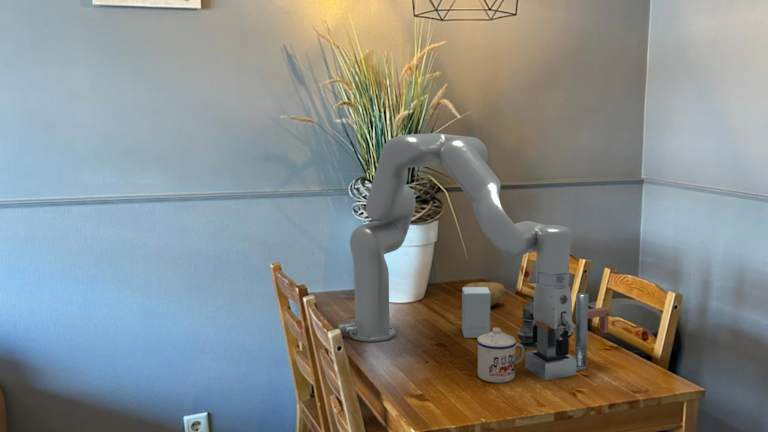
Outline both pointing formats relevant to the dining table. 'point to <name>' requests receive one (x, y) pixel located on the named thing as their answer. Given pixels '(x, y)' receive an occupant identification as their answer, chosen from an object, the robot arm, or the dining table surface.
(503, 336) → the teacup with lid
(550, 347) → the grey tall block
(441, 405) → the dining table surface
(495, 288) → the potato
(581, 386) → the dining table surface
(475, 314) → the supplement box
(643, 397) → the dining table surface
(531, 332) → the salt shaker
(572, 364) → the water pump with trough
